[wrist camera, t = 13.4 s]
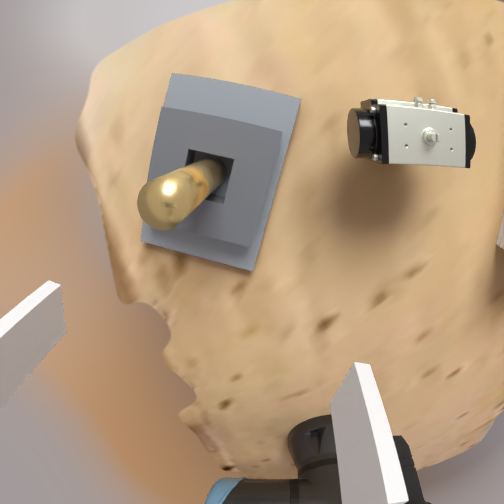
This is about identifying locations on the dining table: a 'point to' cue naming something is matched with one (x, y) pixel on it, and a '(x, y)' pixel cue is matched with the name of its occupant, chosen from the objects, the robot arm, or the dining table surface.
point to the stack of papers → (501, 234)
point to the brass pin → (179, 192)
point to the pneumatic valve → (410, 133)
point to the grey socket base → (234, 157)
